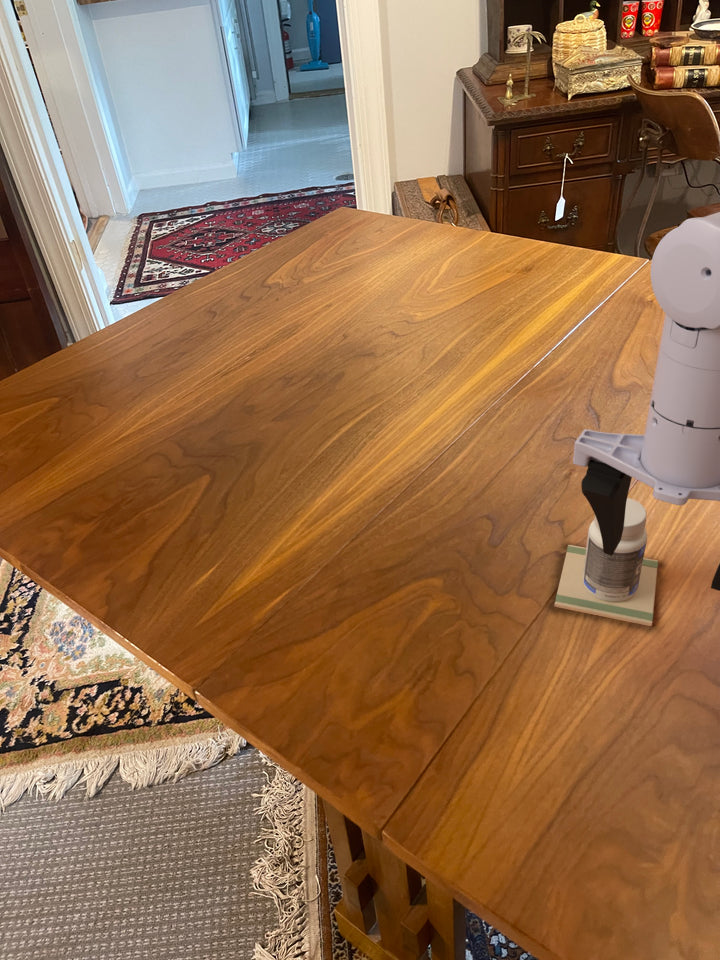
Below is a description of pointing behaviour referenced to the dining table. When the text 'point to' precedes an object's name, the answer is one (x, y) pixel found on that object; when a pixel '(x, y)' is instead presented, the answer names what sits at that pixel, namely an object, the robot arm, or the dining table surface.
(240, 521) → the dining table surface
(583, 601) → the striped square coaster
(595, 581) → the pill bottle
